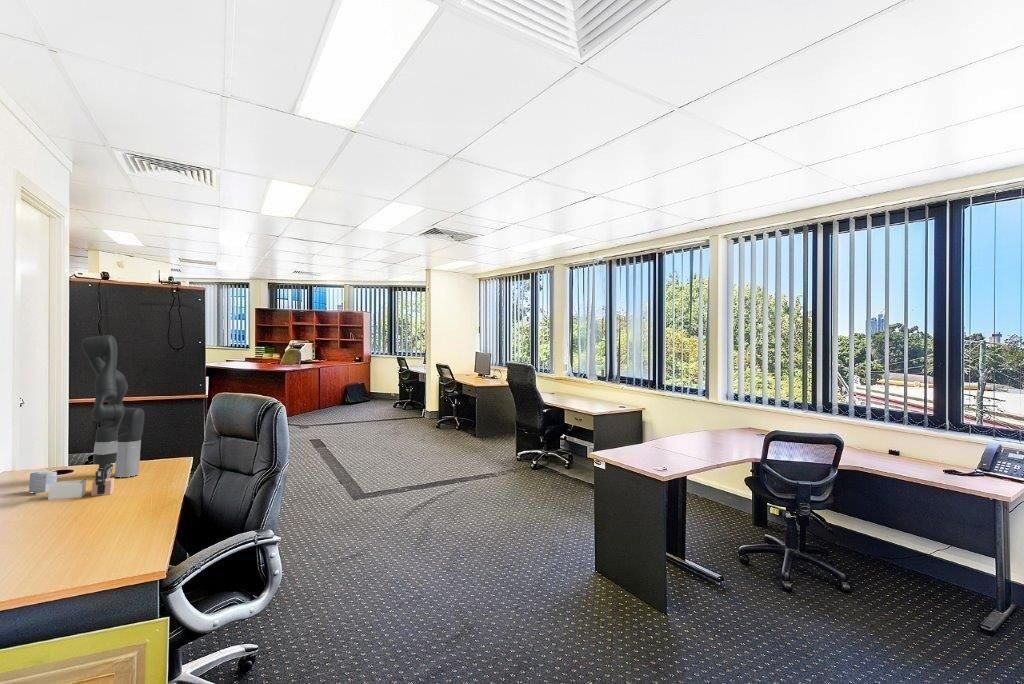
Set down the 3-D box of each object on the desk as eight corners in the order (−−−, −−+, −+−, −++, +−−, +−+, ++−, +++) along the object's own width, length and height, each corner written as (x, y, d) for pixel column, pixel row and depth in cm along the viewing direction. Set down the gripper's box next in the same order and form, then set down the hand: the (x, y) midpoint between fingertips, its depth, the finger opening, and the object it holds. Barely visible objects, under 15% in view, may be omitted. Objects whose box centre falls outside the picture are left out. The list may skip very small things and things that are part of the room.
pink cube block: (95, 492, 193) (96, 479, 194) (113, 491, 196) (114, 477, 197) (91, 496, 189) (92, 482, 189) (110, 494, 192) (111, 480, 192)
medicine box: (56, 491, 197) (57, 471, 197) (44, 494, 192) (46, 474, 192) (40, 490, 197) (41, 470, 198) (28, 493, 193) (29, 473, 193)
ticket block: (53, 496, 187) (54, 481, 187) (85, 494, 192) (86, 479, 192) (48, 500, 183) (49, 484, 183) (81, 497, 187) (82, 482, 188)
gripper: (99, 449, 198) (96, 488, 197) (88, 455, 185) (85, 498, 185) (121, 447, 201) (119, 486, 201) (112, 454, 189) (109, 496, 188)
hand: (102, 491), depth 193 cm, fingers closed on pink cube block, 5 cm apart
